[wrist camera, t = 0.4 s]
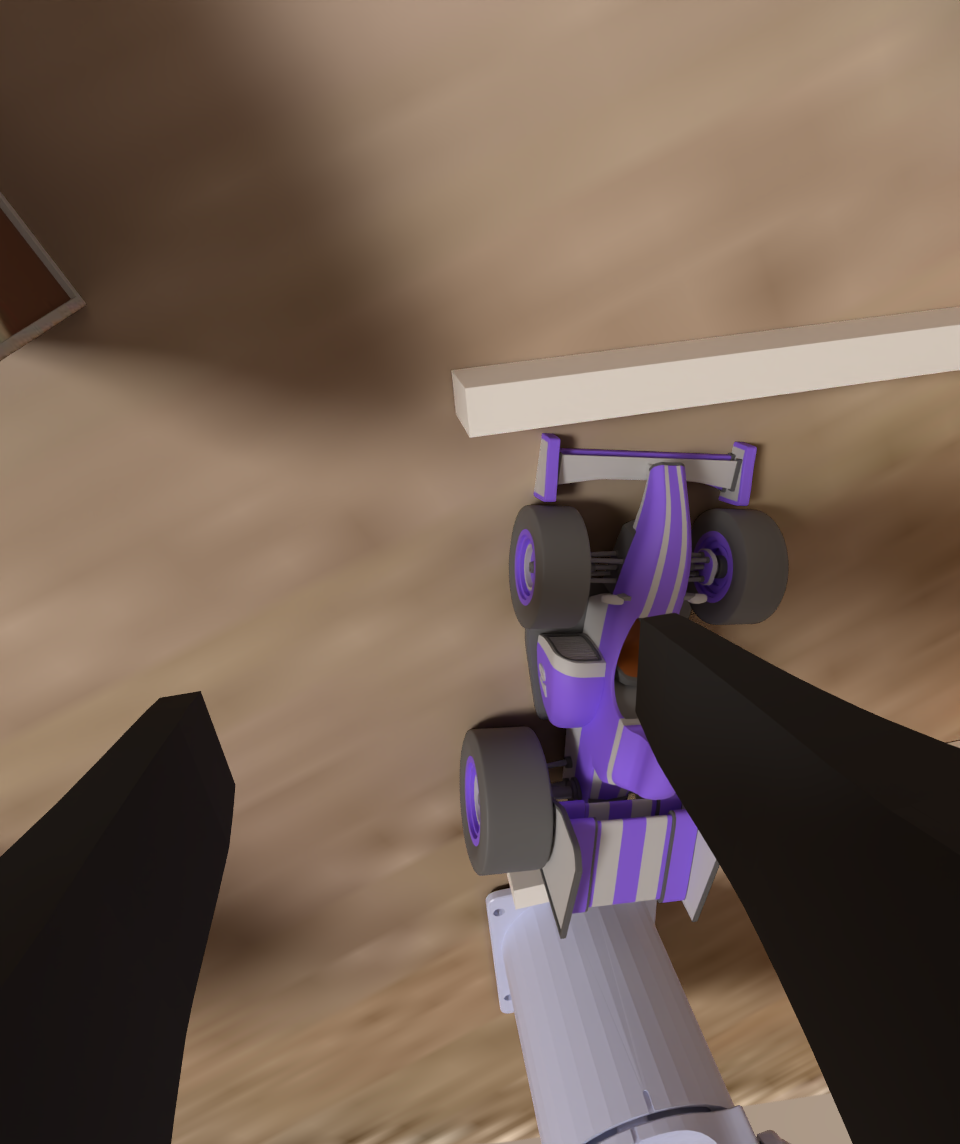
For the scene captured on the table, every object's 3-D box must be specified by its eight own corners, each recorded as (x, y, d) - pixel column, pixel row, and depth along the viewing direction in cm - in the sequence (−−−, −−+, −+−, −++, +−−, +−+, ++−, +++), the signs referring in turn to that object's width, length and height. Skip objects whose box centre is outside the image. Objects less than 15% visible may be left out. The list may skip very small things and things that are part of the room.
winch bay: (1052, 737, 30) (1188, 834, 25) (502, 857, 27) (536, 994, 22) (1280, 266, 20) (1580, 274, 15) (451, 370, 17) (490, 422, 12)
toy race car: (779, 439, 20) (947, 517, 14) (671, 779, 27) (757, 922, 21) (491, 426, 18) (554, 510, 12) (454, 795, 25) (484, 958, 19)
